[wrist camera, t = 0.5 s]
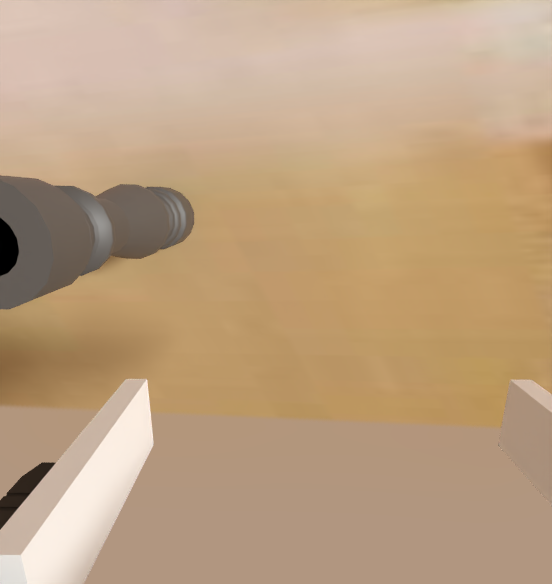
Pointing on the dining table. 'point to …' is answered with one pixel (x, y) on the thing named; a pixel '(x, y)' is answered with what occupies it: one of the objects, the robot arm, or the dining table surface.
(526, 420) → the robot arm
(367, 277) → the dining table surface
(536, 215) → the dining table surface
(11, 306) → the candle holder
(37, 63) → the dining table surface
